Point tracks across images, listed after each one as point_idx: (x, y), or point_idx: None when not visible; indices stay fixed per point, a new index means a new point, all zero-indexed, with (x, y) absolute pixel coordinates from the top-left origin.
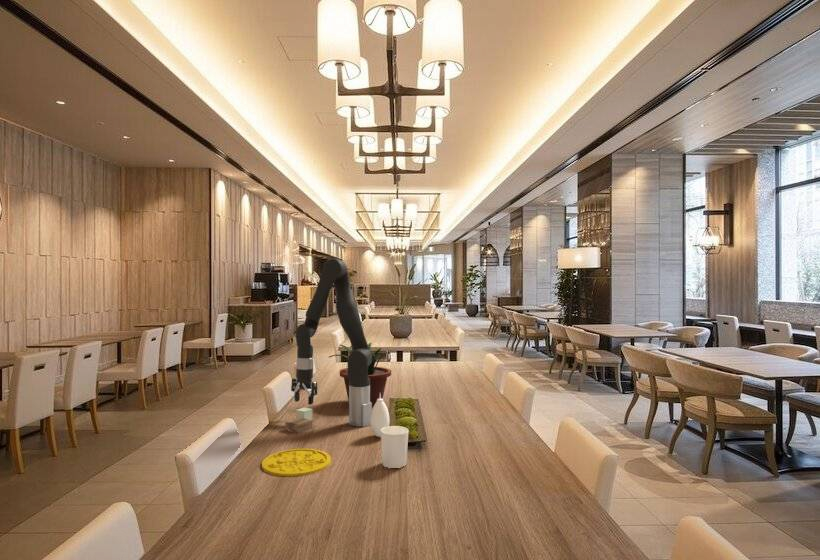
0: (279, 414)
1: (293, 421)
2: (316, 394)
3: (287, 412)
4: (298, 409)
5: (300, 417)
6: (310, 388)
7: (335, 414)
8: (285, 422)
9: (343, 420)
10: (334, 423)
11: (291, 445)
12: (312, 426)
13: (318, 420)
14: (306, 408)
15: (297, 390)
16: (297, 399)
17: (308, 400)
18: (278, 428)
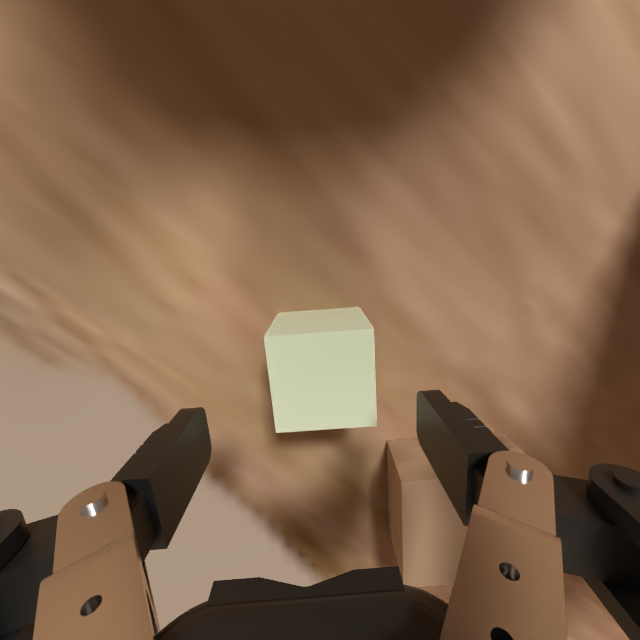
0: (66, 366)
1: (448, 561)
2: (632, 486)
3: (52, 295)
4: (279, 415)
5: (416, 482)
6: (496, 594)
7: (402, 59)
8: (402, 580)
9: (578, 157)
10: (561, 265)
11: (585, 631)
12: (512, 441)
13: (408, 288)
14: (309, 349)
15: (155, 609)
16: (200, 447)
17: (440, 476)
18: (333, 535)
